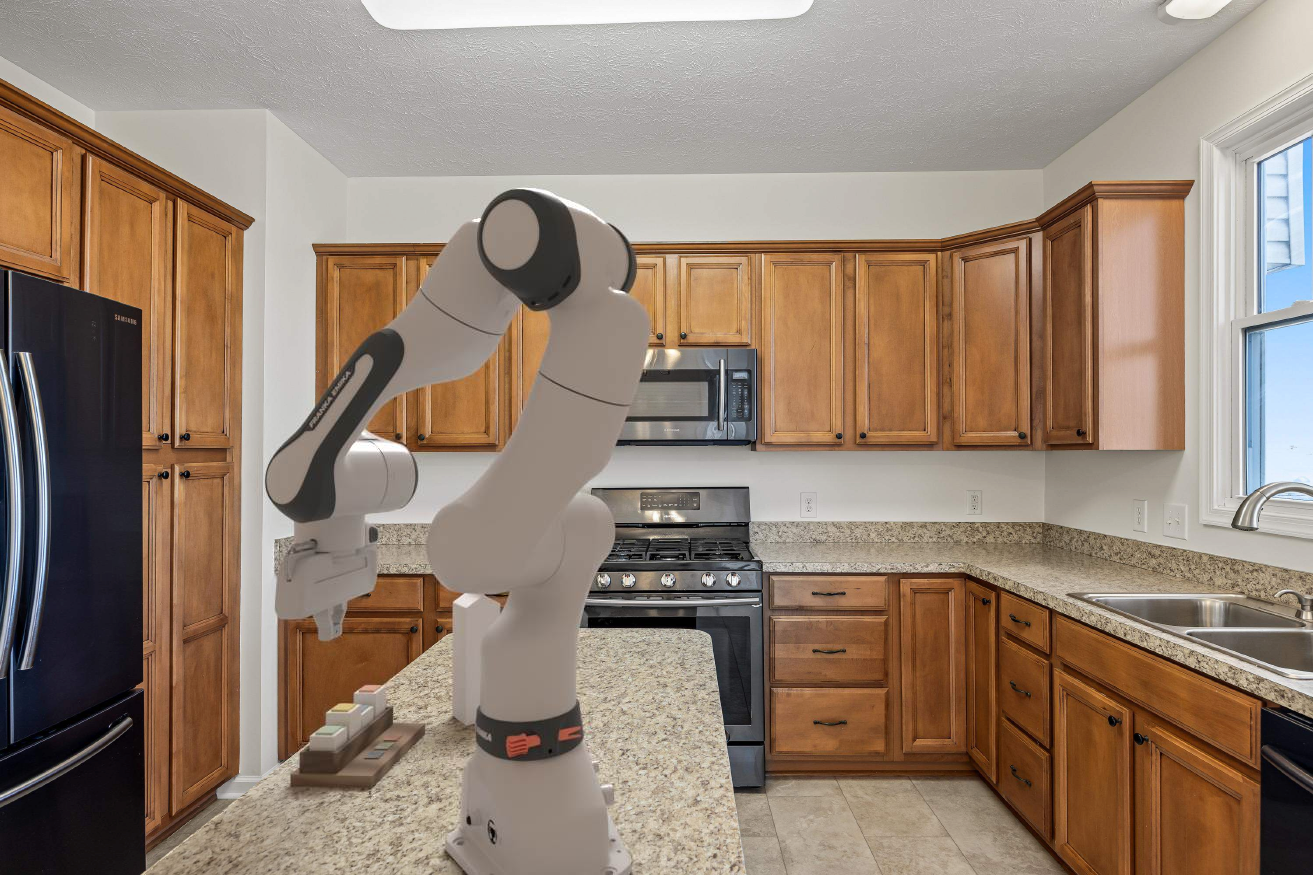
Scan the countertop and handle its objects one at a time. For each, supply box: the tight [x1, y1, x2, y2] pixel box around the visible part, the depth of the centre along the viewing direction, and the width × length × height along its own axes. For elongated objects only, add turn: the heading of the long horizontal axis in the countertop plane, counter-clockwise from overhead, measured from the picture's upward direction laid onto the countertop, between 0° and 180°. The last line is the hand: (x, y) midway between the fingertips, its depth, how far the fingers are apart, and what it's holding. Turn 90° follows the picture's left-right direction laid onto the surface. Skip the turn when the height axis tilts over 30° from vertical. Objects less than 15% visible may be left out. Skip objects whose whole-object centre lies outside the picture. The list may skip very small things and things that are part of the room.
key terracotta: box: [353, 684, 387, 719], centre depth 106 cm, size 3×3×4 cm
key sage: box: [308, 725, 347, 751], centre depth 94 cm, size 3×3×4 cm
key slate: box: [361, 705, 374, 730], centre depth 102 cm, size 3×3×4 cm
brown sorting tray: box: [289, 705, 426, 789], centre depth 100 cm, size 18×11×4 cm, turn 177°
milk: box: [451, 593, 501, 727], centre depth 116 cm, size 6×6×22 cm
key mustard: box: [325, 702, 361, 741], centre depth 98 cm, size 3×3×4 cm
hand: (330, 638), depth 94 cm, fingers closed
